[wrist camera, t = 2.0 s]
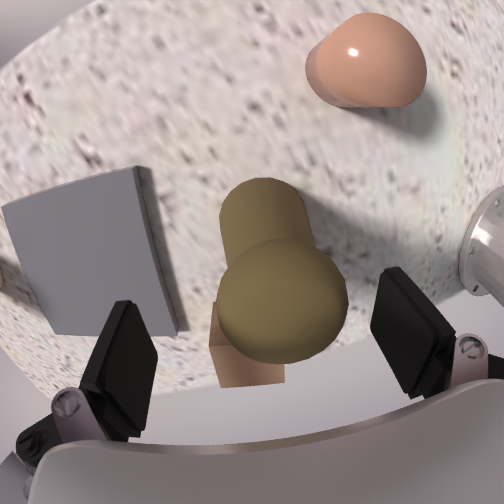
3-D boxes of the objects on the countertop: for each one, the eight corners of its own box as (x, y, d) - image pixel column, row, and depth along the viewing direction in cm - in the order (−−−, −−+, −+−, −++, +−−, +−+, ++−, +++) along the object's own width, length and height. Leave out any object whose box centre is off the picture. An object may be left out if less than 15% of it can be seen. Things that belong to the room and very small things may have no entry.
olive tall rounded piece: (310, 250, 20) (364, 366, 11) (230, 266, 21) (226, 393, 11) (300, 170, 18) (375, 240, 8) (209, 187, 18) (176, 279, 8)
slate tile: (137, 165, 17) (132, 168, 16) (179, 327, 23) (177, 335, 22) (7, 202, 17) (1, 206, 16) (59, 328, 23) (55, 334, 22)
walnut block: (275, 295, 22) (283, 339, 18) (277, 339, 24) (284, 382, 20) (213, 301, 22) (208, 346, 18) (222, 344, 24) (221, 387, 20)
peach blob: (371, 44, 13) (419, 24, 8) (378, 109, 16) (429, 112, 10) (301, 37, 13) (329, 5, 8) (308, 107, 16) (341, 103, 10)
